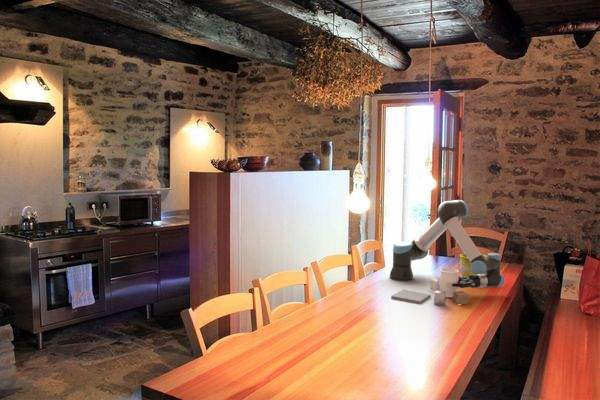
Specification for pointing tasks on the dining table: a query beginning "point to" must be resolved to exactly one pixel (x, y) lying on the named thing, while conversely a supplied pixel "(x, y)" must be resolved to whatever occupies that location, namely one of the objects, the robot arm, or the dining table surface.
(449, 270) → the jar
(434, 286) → the offwhite block
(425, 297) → the slate board
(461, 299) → the walnut block
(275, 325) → the dining table surface
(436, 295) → the metal tin
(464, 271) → the flowerpot
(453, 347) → the dining table surface
